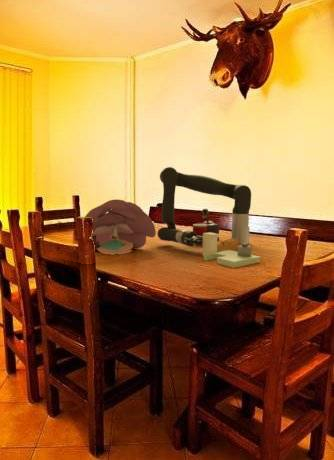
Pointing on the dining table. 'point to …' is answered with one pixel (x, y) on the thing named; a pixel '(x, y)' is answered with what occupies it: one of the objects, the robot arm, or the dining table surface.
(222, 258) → the deck
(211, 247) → the beige bar
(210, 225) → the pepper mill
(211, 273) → the dining table surface
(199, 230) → the canned food
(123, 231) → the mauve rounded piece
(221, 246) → the croissant
